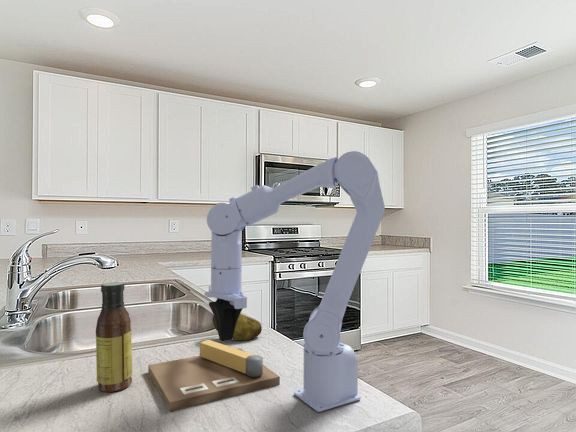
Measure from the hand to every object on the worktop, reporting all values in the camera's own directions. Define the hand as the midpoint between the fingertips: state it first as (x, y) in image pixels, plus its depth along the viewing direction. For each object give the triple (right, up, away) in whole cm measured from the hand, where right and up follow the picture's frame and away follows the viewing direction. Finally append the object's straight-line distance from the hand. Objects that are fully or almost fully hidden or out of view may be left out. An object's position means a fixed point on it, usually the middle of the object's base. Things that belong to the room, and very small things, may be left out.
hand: (225, 339), depth 71 cm
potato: (-2, -10, +31) cm, 33 cm away
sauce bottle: (-22, -10, +1) cm, 24 cm away
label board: (-4, -10, +5) cm, 11 cm away
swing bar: (0, -8, +8) cm, 11 cm away
